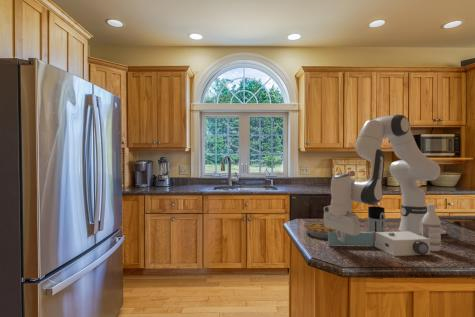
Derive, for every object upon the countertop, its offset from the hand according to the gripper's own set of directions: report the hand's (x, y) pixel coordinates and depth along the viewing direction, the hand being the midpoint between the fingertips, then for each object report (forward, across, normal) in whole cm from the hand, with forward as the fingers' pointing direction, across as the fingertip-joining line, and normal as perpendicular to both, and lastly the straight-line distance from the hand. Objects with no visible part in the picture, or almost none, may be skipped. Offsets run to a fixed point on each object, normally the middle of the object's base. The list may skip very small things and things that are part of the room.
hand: (340, 240), depth 134 cm
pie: (+3, +22, -9) cm, 24 cm away
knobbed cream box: (+3, -14, -22) cm, 26 cm away
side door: (+3, +1, -6) cm, 7 cm away
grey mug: (+3, +6, -28) cm, 28 cm away
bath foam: (+3, -16, -36) cm, 39 cm away
